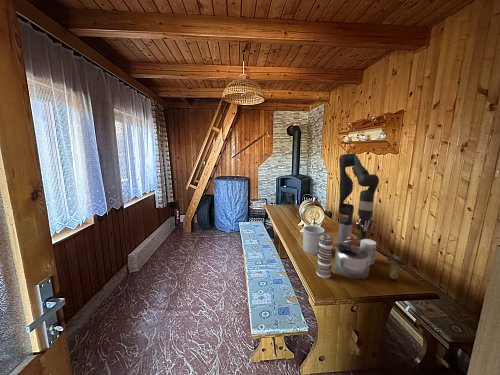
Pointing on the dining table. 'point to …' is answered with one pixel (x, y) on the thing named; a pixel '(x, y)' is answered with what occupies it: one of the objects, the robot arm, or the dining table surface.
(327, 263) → the decorative candle
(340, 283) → the dining table surface
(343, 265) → the cooker pot
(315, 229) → the utensil holder
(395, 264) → the mushroom
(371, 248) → the supplement tub
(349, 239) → the cooker lid
